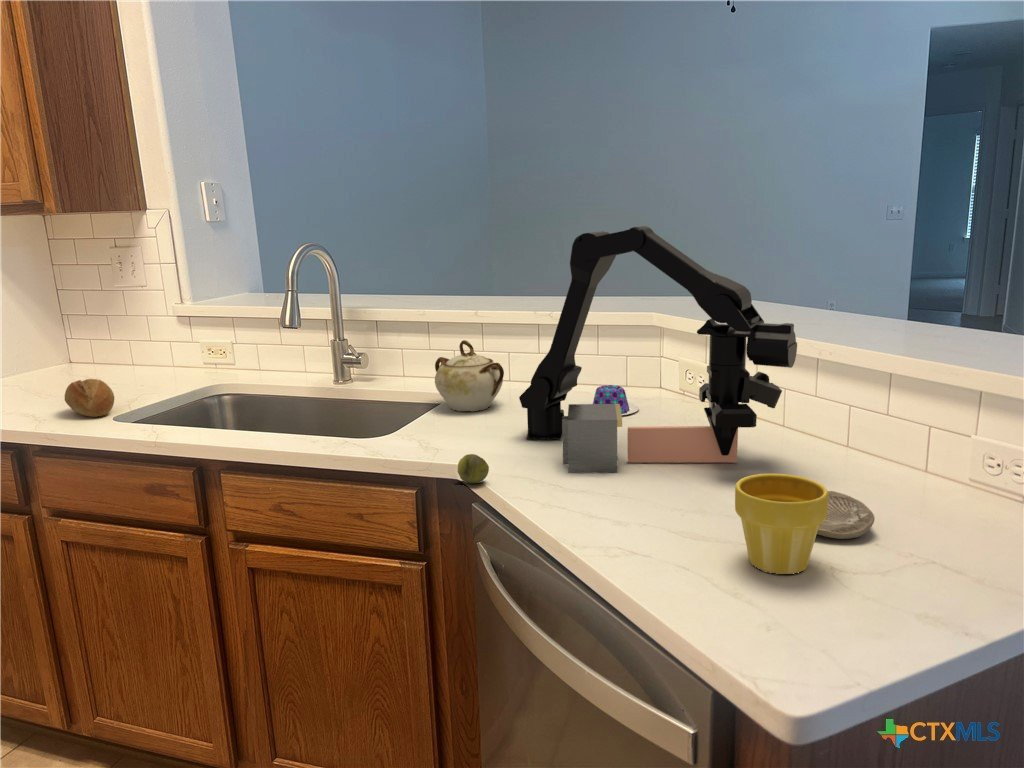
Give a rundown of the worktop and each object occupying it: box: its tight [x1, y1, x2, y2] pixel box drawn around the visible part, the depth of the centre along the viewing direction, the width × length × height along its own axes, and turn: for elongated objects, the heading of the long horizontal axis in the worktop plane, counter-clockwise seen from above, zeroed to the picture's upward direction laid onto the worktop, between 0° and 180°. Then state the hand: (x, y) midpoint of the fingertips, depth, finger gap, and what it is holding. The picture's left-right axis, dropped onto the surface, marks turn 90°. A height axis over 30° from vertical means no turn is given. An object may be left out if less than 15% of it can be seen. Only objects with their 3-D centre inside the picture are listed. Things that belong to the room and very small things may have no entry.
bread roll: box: [64, 378, 115, 418], centre depth 176 cm, size 10×15×8 cm, turn 42°
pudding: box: [589, 384, 640, 416], centre depth 163 cm, size 12×12×5 cm
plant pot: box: [734, 473, 829, 575], centre depth 92 cm, size 10×10×10 cm
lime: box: [457, 453, 490, 485], centre depth 123 cm, size 4×5×5 cm
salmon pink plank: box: [627, 425, 739, 463], centre depth 129 cm, size 18×1×6 cm, turn 85°
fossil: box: [817, 490, 875, 540], centre depth 103 cm, size 10×12×3 cm
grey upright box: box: [561, 403, 623, 474], centre depth 130 cm, size 10×10×9 cm
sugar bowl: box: [434, 340, 505, 412], centre depth 169 cm, size 20×15×15 cm
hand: (724, 453), depth 129 cm, fingers closed on salmon pink plank
